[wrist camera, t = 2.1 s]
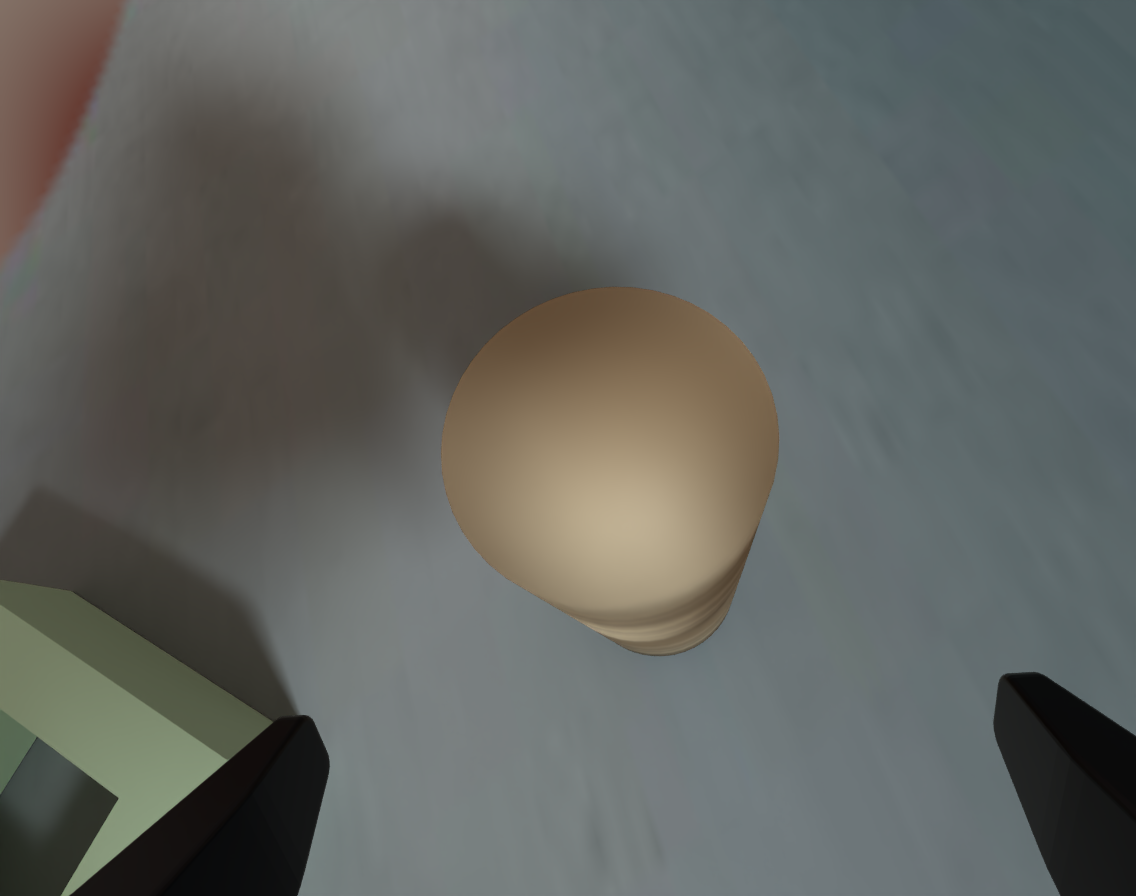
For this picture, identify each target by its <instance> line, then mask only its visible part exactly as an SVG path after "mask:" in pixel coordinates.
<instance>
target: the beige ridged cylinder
mask: <svg viewBox="0 0 1136 896" xmlns="http://www.w3.org/2000/svg"><path fill="white" fill-rule="evenodd" d="M778 451H779V430H778V419H777V413H776V409H775V404H774V400H773V396H772V393H771V391H770V388H769V386H768V383H767V381H766V378H765V376H764V374H763V372H762V370H761V368H760V367H759V365H758V363H757V361H756V360H755V358H754V356H753V355H752V354H751V353H750V351H749V350H748V349H747V347H746V346H745V345H744V344H743V342H742V341H741V340H740V339H739V338H738V337H737V336H736V335H735V334H734V333H733V332H732V331H731V330H730V329H729V328H728V327H727V326H726V325H724V324H723V323H722V322H720V321H719V320H718V319H716V318H715V317H714V316H712V315H711V314H710V313H708V312H706V311H704V310H702V309H701V308H699V307H697V306H695V305H694V304H692V303H689V302H687V301H684V300H682V299H680V298H677V297H675V296H672V295H668V294H664V293H661V292H657V291H653V290H647V289H640V288H633V287H605V288H594V289H588V290H583V291H578V292H573V293H569V294H566V295H563V296H560V297H557V298H554V299H551V300H549V301H547V302H545V303H542V304H540V305H538V306H536V307H534V308H532V309H530V310H529V311H527V312H525V313H524V314H522V315H520V316H519V317H517V318H515V319H514V320H513V321H511V322H510V323H509V324H508V325H506V326H505V327H504V328H502V329H501V330H500V331H499V332H498V333H497V334H496V335H495V336H493V337H492V338H491V339H490V340H489V341H488V342H487V343H486V344H485V345H484V347H483V348H482V349H481V350H480V351H479V353H478V354H477V355H476V356H475V357H474V359H473V360H472V362H471V363H470V365H469V366H468V368H467V369H466V371H465V372H464V374H463V375H462V377H461V379H460V381H459V383H458V385H457V387H456V390H455V392H454V394H453V396H452V399H451V402H450V405H449V408H448V411H447V414H446V419H445V424H444V428H443V433H442V447H441V461H442V475H443V480H444V485H445V490H446V494H447V497H448V500H449V503H450V506H451V509H452V512H453V514H454V516H455V518H456V520H457V522H458V524H459V526H460V528H461V530H462V532H463V533H464V535H465V536H466V537H467V539H468V540H469V542H470V543H471V544H472V546H473V547H474V549H475V550H476V551H477V552H478V553H479V554H480V555H481V556H482V557H483V558H484V559H485V561H486V562H487V563H488V564H489V565H490V566H492V567H493V568H494V569H495V570H497V571H498V572H499V573H500V574H502V575H503V576H504V577H505V578H507V579H508V580H510V581H512V582H513V583H515V584H517V585H518V586H520V587H522V588H523V589H525V590H527V591H529V592H530V593H532V594H534V595H535V596H537V597H539V598H540V599H542V600H544V601H545V602H547V603H549V604H551V605H552V606H554V607H556V608H557V609H559V610H561V611H562V612H564V613H566V614H567V615H569V616H571V617H573V618H574V619H576V620H578V621H579V622H581V623H583V624H584V625H586V626H588V627H589V628H591V629H593V630H595V631H596V632H598V633H600V634H601V635H603V636H605V637H606V638H608V639H610V640H611V641H613V642H615V643H617V644H618V645H620V646H622V647H623V648H625V649H628V650H630V651H633V652H636V653H639V654H643V655H650V656H668V655H675V654H678V653H682V652H685V651H687V650H690V649H692V648H694V647H696V646H698V645H699V644H701V643H703V642H704V641H705V640H706V639H708V638H709V637H710V636H711V635H712V634H713V633H714V632H715V631H716V630H717V629H718V627H719V626H720V625H721V623H722V622H723V620H724V619H725V617H726V615H727V613H728V611H729V608H730V605H731V602H732V599H733V597H734V594H735V591H736V588H737V585H738V582H739V579H740V576H741V574H742V571H743V568H744V565H745V562H746V559H747V556H748V554H749V551H750V548H751V545H752V542H753V539H754V536H755V533H756V531H757V528H758V525H759V522H760V519H761V516H762V513H763V511H764V508H765V505H766V502H767V499H768V496H769V493H770V490H771V488H772V485H773V482H774V477H775V472H776V467H777V462H778Z"/></svg>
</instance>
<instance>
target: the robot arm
mask: <svg viewBox="0 0 1136 896" xmlns="http://www.w3.org/2000/svg"><path fill="white" fill-rule="evenodd" d="M993 725H994V733H995V737H996V741H997V744H998V746H999V749H1000V751H1001V754H1002V756H1003V759H1004V761H1005V764H1006V767H1007V769H1008V772H1009V774H1010V777H1011V779H1012V782H1013V784H1014V787H1015V789H1016V792H1017V794H1018V797H1019V799H1020V802H1021V804H1022V807H1023V810H1024V812H1025V815H1026V817H1027V820H1028V822H1029V825H1030V827H1031V830H1032V832H1033V835H1034V837H1035V840H1036V842H1037V845H1038V847H1039V850H1040V852H1041V855H1042V857H1043V859H1044V862H1045V864H1046V867H1047V869H1048V871H1049V873H1050V875H1051V877H1052V879H1053V881H1054V883H1055V885H1056V888H1057V890H1058V892H1059V894H1060V896H1136V736H1135V735H1134V734H1132V733H1131V732H1129V731H1128V730H1126V729H1125V728H1123V727H1122V726H1120V725H1119V724H1117V723H1116V722H1114V721H1113V720H1111V719H1110V718H1108V717H1107V716H1105V715H1104V714H1102V713H1101V712H1099V711H1098V710H1096V709H1095V708H1093V707H1092V706H1090V705H1089V704H1087V703H1086V702H1084V701H1083V700H1081V699H1079V698H1078V697H1076V696H1075V695H1073V694H1072V693H1070V692H1069V691H1067V690H1066V689H1064V688H1063V687H1061V686H1060V685H1058V684H1057V683H1055V682H1054V681H1052V680H1051V679H1049V678H1048V677H1046V676H1045V675H1043V674H1040V673H1037V672H1024V673H1007V674H1004V675H1003V676H1001V678H1000V680H999V683H998V690H997V698H996V705H995V713H994V722H993ZM329 768H330V761H329V756H328V753H327V750H326V748H325V746H324V743H323V741H322V739H321V737H320V734H319V732H318V730H317V727H316V725H315V723H314V721H313V719H312V718H310V717H309V716H307V715H296V716H283V717H280V718H278V719H277V720H275V721H274V722H273V723H272V724H271V725H269V726H268V727H267V728H266V729H265V730H263V731H262V732H261V733H260V734H259V735H258V736H256V737H255V738H254V739H253V740H252V741H251V742H249V743H248V744H247V745H246V746H245V747H243V748H242V749H241V750H240V751H239V752H238V753H236V754H235V755H234V756H233V757H232V758H231V759H229V760H228V761H227V762H226V763H225V764H223V765H222V766H221V767H220V768H219V769H218V770H216V771H215V772H214V773H213V774H212V775H211V776H209V777H208V778H207V779H206V780H205V781H203V782H202V783H201V784H200V785H199V786H198V787H196V788H195V789H194V790H193V791H192V792H191V793H189V794H188V795H187V796H186V797H185V798H183V799H182V800H181V801H180V802H179V803H178V804H176V805H175V806H174V807H173V808H172V809H171V810H169V811H168V812H167V813H166V814H165V815H163V816H162V817H161V818H160V819H159V820H158V821H156V822H155V823H154V824H153V825H152V826H151V827H149V828H148V829H147V830H146V831H145V832H143V833H142V834H141V835H140V836H139V837H138V838H136V839H135V840H134V841H133V842H132V843H131V844H129V845H128V846H127V847H126V848H125V849H123V850H122V851H121V852H120V853H119V854H118V855H116V856H115V857H114V858H113V859H112V860H111V861H109V862H108V863H107V864H106V865H105V866H103V867H102V868H101V869H100V870H99V871H98V872H96V873H95V874H94V875H93V876H92V877H90V878H89V879H88V880H87V881H86V882H85V883H83V884H82V885H81V886H80V887H79V888H78V889H76V890H75V891H74V892H73V893H72V894H70V895H69V896H297V895H298V892H299V889H300V886H301V883H302V879H303V875H304V872H305V868H306V864H307V860H308V856H309V852H310V848H311V844H312V840H313V836H314V832H315V828H316V824H317V820H318V816H319V812H320V807H321V803H322V799H323V795H324V791H325V787H326V783H327V779H328V775H329Z"/></svg>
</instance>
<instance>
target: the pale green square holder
mask: <svg viewBox="0 0 1136 896" xmlns="http://www.w3.org/2000/svg"><path fill="white" fill-rule="evenodd" d="M272 723H273V721H271V720H270V719H268V718H267V717H265V716H263V715H262V714H260V713H259V712H257V711H256V710H254V709H253V708H251V707H250V706H248V705H246V704H245V703H243V702H242V701H240V700H239V699H237V698H236V697H234V696H232V695H231V694H229V693H228V692H226V691H225V690H223V689H222V688H220V687H219V686H217V685H215V684H214V683H212V682H211V681H209V680H208V679H206V678H205V677H203V676H202V675H200V674H198V673H197V672H195V671H194V670H192V669H191V668H189V667H188V666H186V665H185V664H183V663H181V662H180V661H178V660H177V659H175V658H174V657H172V656H171V655H169V654H168V653H166V652H164V651H163V650H161V649H160V648H158V647H157V646H155V645H154V644H152V643H151V642H149V641H147V640H146V639H144V638H143V637H141V636H140V635H138V634H137V633H135V632H134V631H132V630H130V629H129V628H127V627H126V626H124V625H123V624H121V623H120V622H118V621H117V620H115V619H113V618H112V617H110V616H109V615H107V614H106V613H104V612H103V611H101V610H100V609H98V608H96V607H95V606H93V605H92V604H90V603H89V602H87V601H86V600H84V599H83V598H81V597H79V596H78V595H76V594H75V593H73V592H72V591H68V590H61V589H55V588H49V587H43V586H37V585H30V584H24V583H18V582H12V581H5V580H0V795H1V793H2V791H3V790H4V788H5V787H6V785H7V783H8V782H9V780H10V779H11V777H12V776H13V774H14V772H15V771H16V769H17V768H18V766H19V765H20V763H21V761H22V760H23V758H24V757H25V755H26V754H27V752H28V750H29V749H30V747H31V746H32V744H33V742H34V741H35V739H36V738H37V737H38V738H40V739H41V740H42V741H44V742H45V743H46V744H48V745H49V746H50V747H52V748H53V749H54V750H56V751H57V752H58V753H60V754H61V755H62V756H64V757H65V758H66V759H68V760H69V761H70V762H72V763H73V764H74V765H76V766H77V767H78V768H80V769H81V770H82V771H84V772H85V773H86V774H88V775H89V776H90V777H92V778H93V779H94V780H96V781H97V782H98V783H100V784H101V785H102V786H103V787H105V788H106V789H107V790H109V791H110V792H111V793H113V794H114V795H115V796H117V797H118V798H119V799H118V801H117V802H116V804H115V806H114V807H113V809H112V811H111V812H110V814H109V816H108V817H107V819H106V821H105V822H104V824H103V826H102V827H101V829H100V831H99V832H98V834H97V836H96V837H95V839H94V841H93V842H92V844H91V846H90V848H89V849H88V851H87V853H86V854H85V856H84V858H83V859H82V861H81V863H80V864H79V866H78V868H77V869H76V871H75V873H74V874H73V876H72V878H71V879H70V881H69V883H68V884H67V886H66V888H65V889H64V891H63V893H62V895H61V896H69V895H70V894H72V893H73V892H74V891H75V890H76V889H78V888H79V887H80V886H81V885H82V884H83V883H85V882H86V881H87V880H88V879H89V878H90V877H92V876H93V875H94V874H95V873H96V872H98V871H99V870H100V869H101V868H102V867H103V866H105V865H106V864H107V863H108V862H109V861H111V860H112V859H113V858H114V857H115V856H116V855H118V854H119V853H120V852H121V851H122V850H123V849H125V848H126V847H127V846H128V845H129V844H131V843H132V842H133V841H134V840H135V839H136V838H138V837H139V836H140V835H141V834H142V833H143V832H145V831H146V830H147V829H148V828H149V827H151V826H152V825H153V824H154V823H155V822H156V821H158V820H159V819H160V818H161V817H162V816H163V815H165V814H166V813H167V812H168V811H169V810H171V809H172V808H173V807H174V806H175V805H176V804H178V803H179V802H180V801H181V800H182V799H183V798H185V797H186V796H187V795H188V794H189V793H191V792H192V791H193V790H194V789H195V788H196V787H198V786H199V785H200V784H201V783H202V782H203V781H205V780H206V779H207V778H208V777H209V776H211V775H212V774H213V773H214V772H215V771H216V770H218V769H219V768H220V767H221V766H222V765H223V764H225V763H226V762H227V761H228V760H229V759H231V758H232V757H233V756H234V755H235V754H236V753H238V752H239V751H240V750H241V749H242V748H243V747H245V746H246V745H247V744H248V743H249V742H251V741H252V740H253V739H254V738H255V737H256V736H258V735H259V734H260V733H261V732H262V731H263V730H265V729H266V728H267V727H268V726H269V725H271V724H272Z"/></svg>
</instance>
